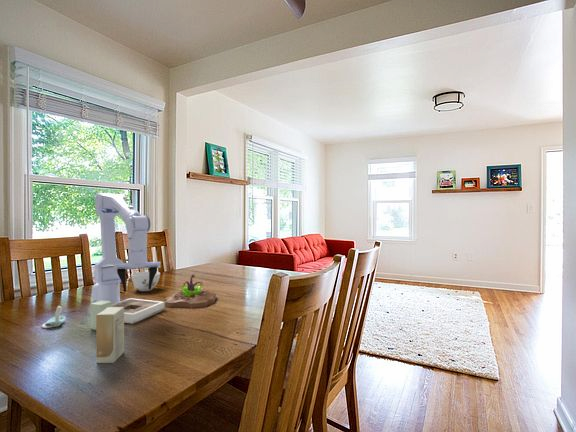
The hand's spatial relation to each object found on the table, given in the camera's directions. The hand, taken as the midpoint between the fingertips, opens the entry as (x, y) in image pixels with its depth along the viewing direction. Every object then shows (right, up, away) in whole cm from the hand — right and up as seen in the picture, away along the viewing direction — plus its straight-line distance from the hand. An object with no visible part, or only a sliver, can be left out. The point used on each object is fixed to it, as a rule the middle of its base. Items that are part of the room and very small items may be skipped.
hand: (137, 289), depth 110 cm
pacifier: (-24, -10, -6) cm, 27 cm away
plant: (+11, -11, +24) cm, 29 cm away
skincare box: (+7, -11, -29) cm, 31 cm away
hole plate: (-5, -10, +6) cm, 13 cm away
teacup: (-16, -10, +43) cm, 47 cm away
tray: (-5, -10, +6) cm, 13 cm away
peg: (-8, -10, -8) cm, 15 cm away
